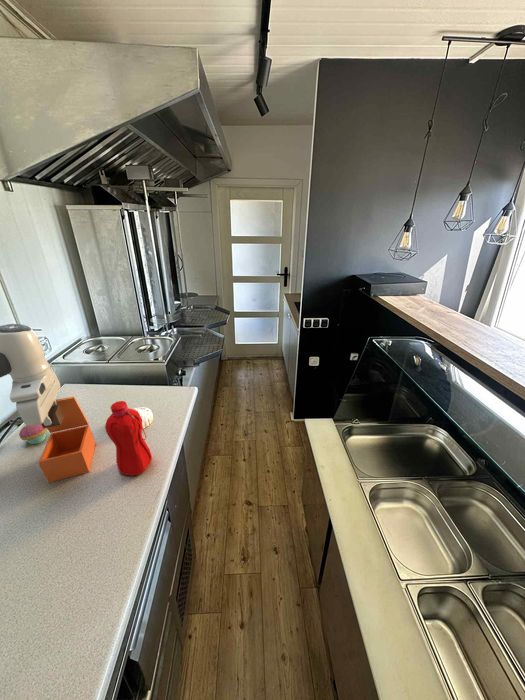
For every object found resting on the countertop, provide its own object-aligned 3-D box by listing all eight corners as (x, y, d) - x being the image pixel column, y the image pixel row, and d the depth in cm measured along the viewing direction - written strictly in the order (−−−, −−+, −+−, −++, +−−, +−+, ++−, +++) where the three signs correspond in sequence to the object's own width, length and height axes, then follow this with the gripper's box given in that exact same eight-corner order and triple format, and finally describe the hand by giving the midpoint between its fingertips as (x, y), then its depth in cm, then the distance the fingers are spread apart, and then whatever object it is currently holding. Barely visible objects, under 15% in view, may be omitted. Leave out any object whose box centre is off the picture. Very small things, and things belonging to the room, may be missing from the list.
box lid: (73, 398, 91) (74, 396, 92) (31, 406, 88) (31, 404, 88) (88, 424, 101) (88, 422, 101) (50, 433, 97) (50, 431, 98)
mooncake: (117, 421, 116) (115, 414, 114) (146, 409, 123) (144, 402, 121) (127, 437, 108) (125, 429, 106) (158, 422, 115) (156, 415, 113)
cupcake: (27, 436, 109) (14, 411, 104) (53, 429, 112) (42, 404, 107) (22, 451, 102) (8, 425, 97) (50, 443, 106) (38, 417, 100)
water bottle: (146, 479, 90) (128, 416, 79) (115, 475, 92) (93, 412, 81) (160, 457, 98) (146, 397, 87) (131, 453, 100) (114, 394, 89)
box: (89, 471, 93) (81, 452, 89) (48, 482, 90) (38, 462, 86) (95, 443, 105) (88, 424, 101) (59, 452, 101) (51, 433, 98)
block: (43, 428, 85) (37, 416, 83) (47, 419, 89) (42, 407, 87) (60, 424, 86) (55, 413, 84) (64, 416, 90) (59, 404, 88)
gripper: (34, 364, 89) (49, 401, 95) (6, 401, 71) (27, 443, 77) (57, 361, 91) (71, 397, 97) (36, 395, 73) (54, 437, 79)
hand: (51, 417), depth 87 cm, fingers closed on block, 4 cm apart
